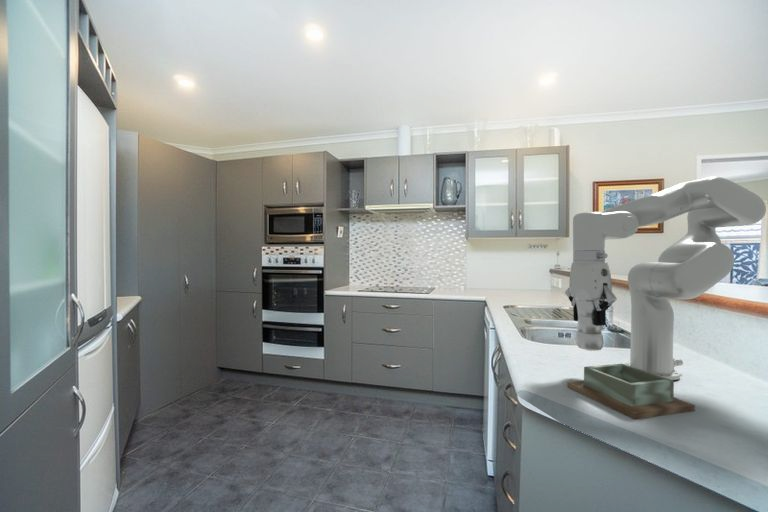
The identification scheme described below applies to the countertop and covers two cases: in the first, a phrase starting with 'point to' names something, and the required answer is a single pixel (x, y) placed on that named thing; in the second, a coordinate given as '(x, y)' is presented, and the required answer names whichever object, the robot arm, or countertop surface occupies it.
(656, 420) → the countertop surface
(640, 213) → the robot arm
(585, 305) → the plastic bottle
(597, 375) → the green open box
